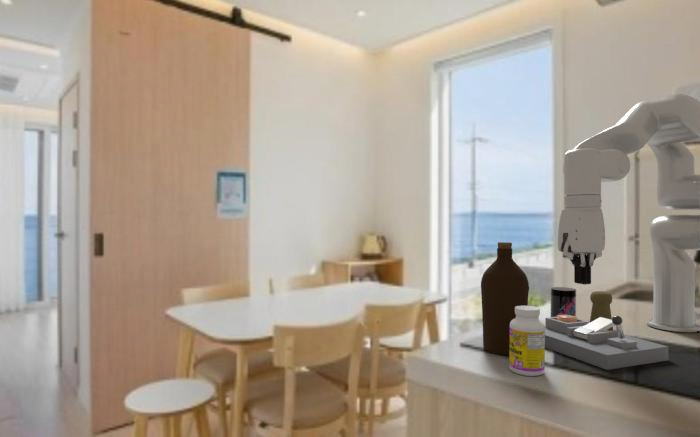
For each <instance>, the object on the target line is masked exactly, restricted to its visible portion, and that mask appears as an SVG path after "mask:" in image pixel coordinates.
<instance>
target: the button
mask: <svg viewBox="0 0 700 437" xmlns="http://www.w3.org/2000/svg"><path fill="white" fill-rule="evenodd" d="M577 319H578V317H577V315H576V316H572V315H558V316H557V320H559V321H562V322H566V323H572V322H577Z"/></svg>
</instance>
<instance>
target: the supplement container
mask: <svg viewBox="0 0 700 437" xmlns="http://www.w3.org/2000/svg"><path fill="white" fill-rule="evenodd" d="M558 315H572V316H576V317H577V289H576V288H573V287H567V286H566V287H564V286H552V287H550V317H557V316H558Z"/></svg>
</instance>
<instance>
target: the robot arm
mask: <svg viewBox="0 0 700 437" xmlns="http://www.w3.org/2000/svg"><path fill="white" fill-rule="evenodd" d="M692 141H700V100H698V99H696V98H694V97H692V96H690V95H688V94H683V93H677V94H676V93H675V94H671V95H665V96H661V97H655V98H649V99H646V100H643V101H640V102H637V103H636V104H635V105H633V106H632V107H631V108H630V109H629V111H627V112H626V114H625V115H624V116H622V118H620V119H619V121H617V122H616V124H614V125H613V126H610V127H609V128H606V129H604V130H603V131H601V132H599V133H597V134H595V135H593V136H591V137H588V138H587V139H585V140H584V141H582V142H580V143H579V144H578V145H576V146H575V147H574V148H573V149H571V150H570V149H569V150H568V151H566V152H565V154H564V157H563V167H562V172H563V176H564V178H563V183H564V184H563V189H564V190H563V192H564V193H563V194H564V195H563V196H564V197H563V198H564V199H563V201H564V202H563V203H564V209H561V212H560V216H559V221H558V222H559V223H558V230H557V231H558V234H557V250H558V251H559V252H561V253H562V258H563V259H567V260H569V261H570V262H571V265H572V266H573V267H574V269H573V270H574V272H573V273H574V274H573V275H574V277H573V280H574V283H575V284H580V285H591V284H592V267H593V266H594V263H595V262H594V261H595V260H596V259H597V258H600V257H602V256H603V251H604V250H605V248H606V247H605V246H606V230H605V218H604V213H603V210H602V202H603V201H602V183H609V182H610V183H611V182H612V183H613V182H618V181H620V180H622V179H624V178H625V177H627V175H628V174H629V172H630V169H631V160H630V158H629V156H628V155H630V154H633V153H636V152H639V151H640V150H642V149H643V148H644V147H645V146H646V145H647V146H648V147H650V149H651V151H652V153H653V154H654V156H655V159H656V163H657V169H656V170H657V173H656V175H657V178H656V179H657V180H656V184H657V186H656V198H657V199H656V200H657V203H658V205H659V207H661V208H662V209H664V210H665V209H666V210H672V211H675V210H676V211H677V210H678V211H682V210H684V211H693V210H695V211H696V210H697V211H699V210H700V174H696V173H695V157H694V154H693V153H692V152H691V150H690V149H689V148H688V147H687V146H686V145H684V144H683V142H692ZM649 226H650V227H649V236H650V240H651V245H652V251H653V303H652V304H653V306H652V307H653V308H652V310H653V311H652V312H653V313H652V314H653V316H652V317H653V318H649V319H647V320H646V324H647V325H648V326H649V327H651V328H654V329H658V330H664V331H669V332H675V333H677V332H678V333H698V332H697V331H699V332H700V324H699V323H696V320H700V311H699V312H696V308H695V305H696V304H695V303H696V300H695V299H696V296H695V294H696V292H695V291H696V266H695V263H694V261H693V259H692V258H691V256H690V255H689V254H688V253H687V251H688V250H691V251H700V214H666V215H665V214H664V215H660V216H657V217H656V218H654V219H653V220H652V221H651V223H650V225H649Z"/></svg>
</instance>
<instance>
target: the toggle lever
mask: <svg viewBox="0 0 700 437" xmlns="http://www.w3.org/2000/svg"><path fill="white" fill-rule="evenodd" d="M612 322H613V323H614V324H615V330H617V334H618V338H619V339H623V338H625V336H624V335H625V333H624V329H623V326H622V323H623V318H622V317H621V316H620V315H614V316H612Z"/></svg>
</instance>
